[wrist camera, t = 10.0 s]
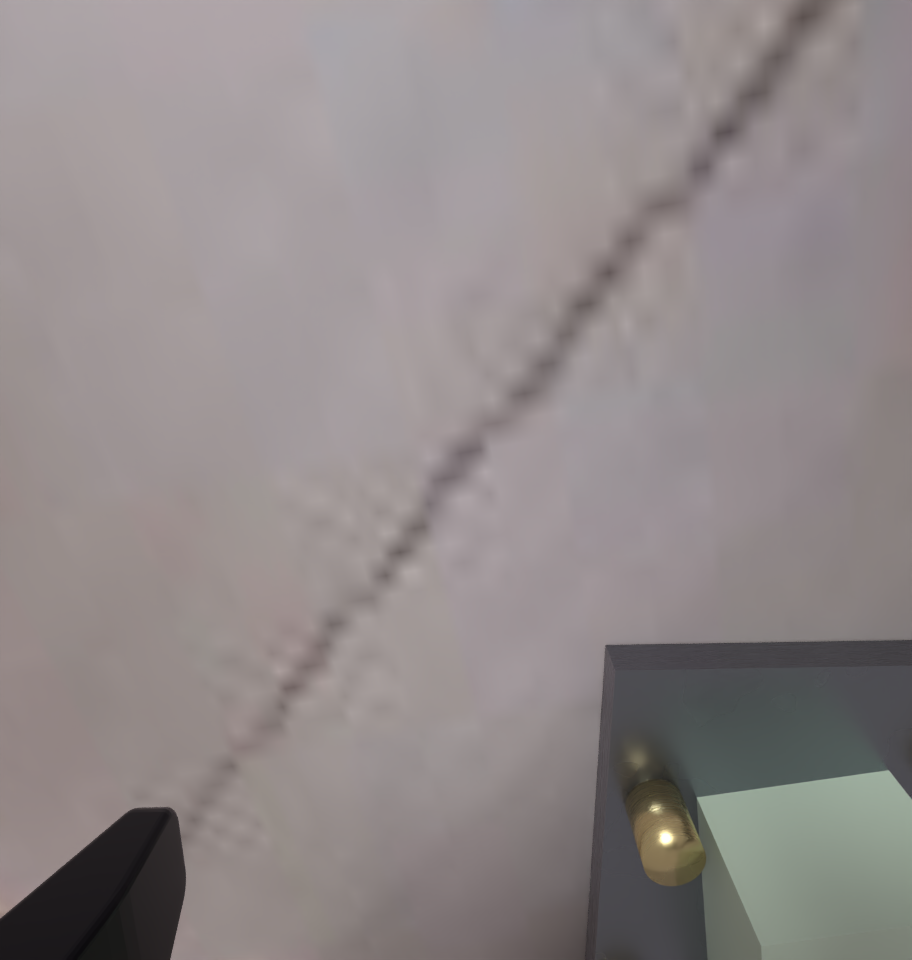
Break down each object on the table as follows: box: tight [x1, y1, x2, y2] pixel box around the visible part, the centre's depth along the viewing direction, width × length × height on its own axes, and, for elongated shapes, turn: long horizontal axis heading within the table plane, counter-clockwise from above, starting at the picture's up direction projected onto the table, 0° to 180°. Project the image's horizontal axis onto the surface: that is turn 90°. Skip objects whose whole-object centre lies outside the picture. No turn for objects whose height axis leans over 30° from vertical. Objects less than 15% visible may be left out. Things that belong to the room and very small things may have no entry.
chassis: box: [585, 640, 912, 960], centre depth 23 cm, size 11×16×3 cm
